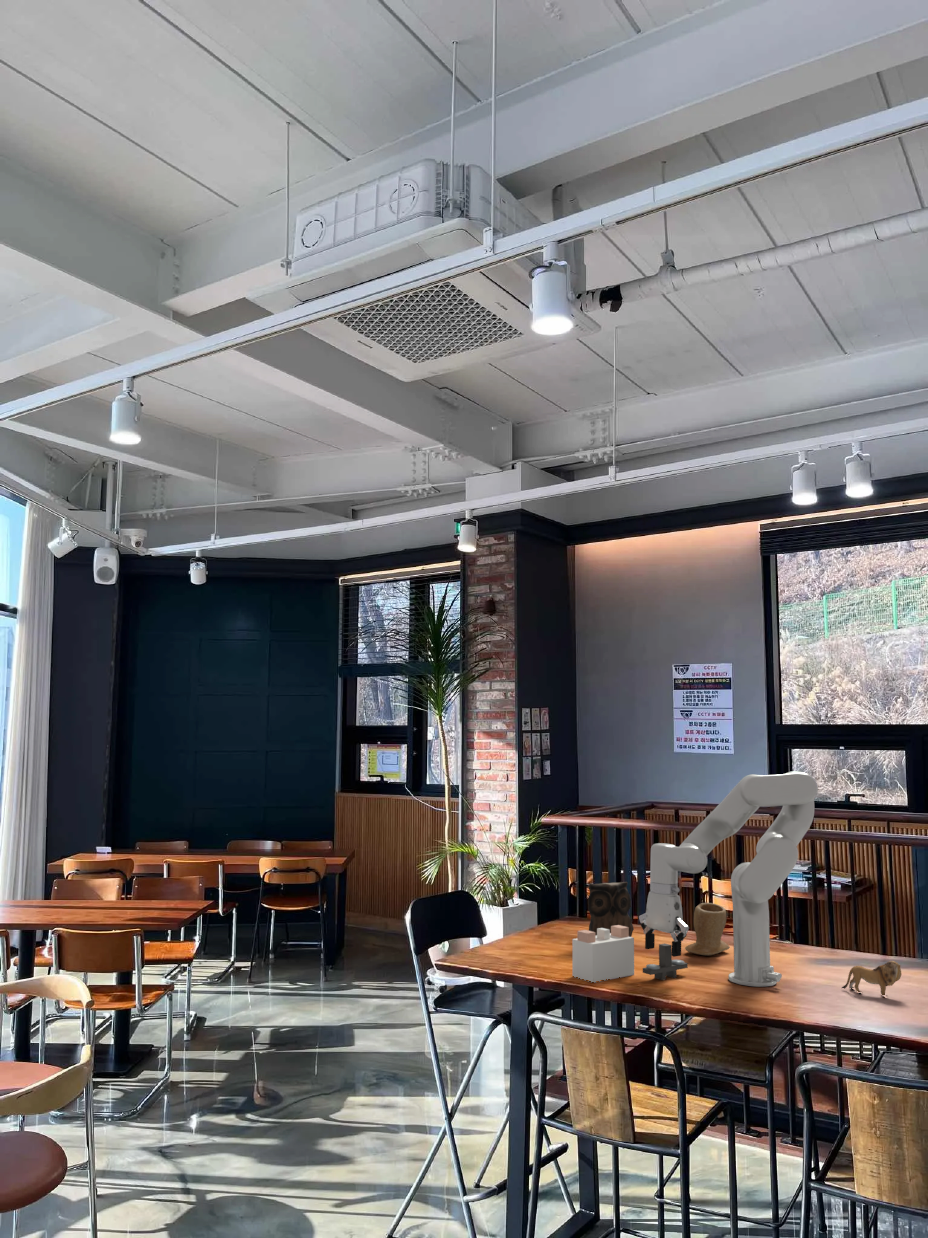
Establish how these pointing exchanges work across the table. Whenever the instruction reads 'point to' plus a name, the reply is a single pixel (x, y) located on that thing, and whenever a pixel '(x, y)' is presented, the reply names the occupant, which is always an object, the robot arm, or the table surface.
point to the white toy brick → (603, 954)
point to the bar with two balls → (665, 964)
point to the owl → (609, 906)
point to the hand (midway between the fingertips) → (662, 952)
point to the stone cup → (708, 929)
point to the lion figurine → (875, 975)
